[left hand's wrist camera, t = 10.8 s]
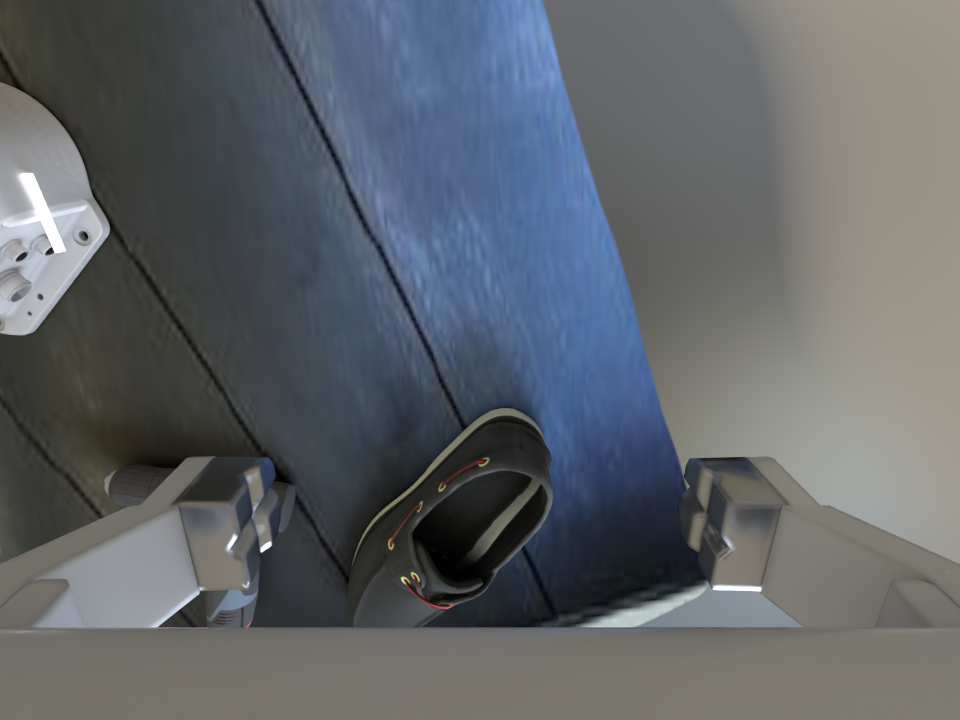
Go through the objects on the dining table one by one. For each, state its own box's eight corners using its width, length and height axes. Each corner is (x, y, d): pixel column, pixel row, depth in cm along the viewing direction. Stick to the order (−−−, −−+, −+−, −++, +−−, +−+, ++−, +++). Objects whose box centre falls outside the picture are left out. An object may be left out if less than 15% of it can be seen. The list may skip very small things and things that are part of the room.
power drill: (131, 587, 62) (121, 444, 55) (288, 609, 64) (298, 471, 57) (100, 625, 57) (86, 472, 50) (271, 648, 59) (280, 502, 52)
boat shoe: (310, 570, 62) (281, 649, 52) (499, 388, 53) (506, 445, 43) (394, 621, 66) (382, 704, 56) (585, 459, 56) (609, 526, 47)
